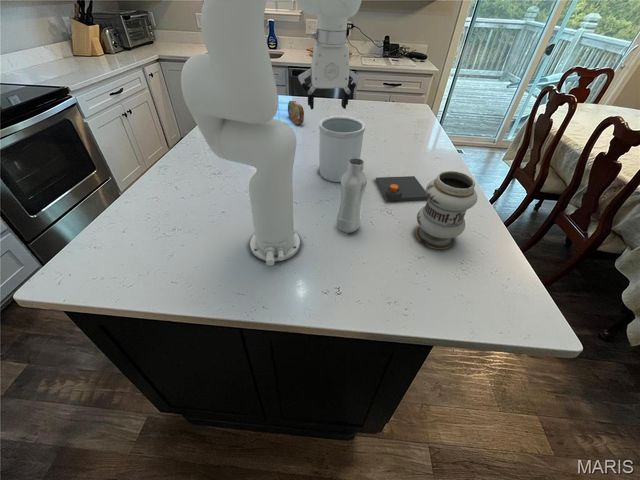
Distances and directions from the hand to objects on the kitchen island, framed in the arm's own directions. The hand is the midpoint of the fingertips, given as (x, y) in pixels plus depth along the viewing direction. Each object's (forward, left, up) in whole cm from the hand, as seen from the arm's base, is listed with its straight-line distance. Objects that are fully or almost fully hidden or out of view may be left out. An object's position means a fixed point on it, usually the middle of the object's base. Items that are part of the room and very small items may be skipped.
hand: (327, 107), depth 87 cm
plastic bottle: (-28, -2, -23) cm, 37 cm away
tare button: (-14, -20, -21) cm, 32 cm away
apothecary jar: (-34, -25, -23) cm, 49 cm away
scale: (-10, -24, -23) cm, 35 cm away
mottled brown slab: (+54, +6, -24) cm, 59 cm away
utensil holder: (+3, -5, -23) cm, 24 cm away
